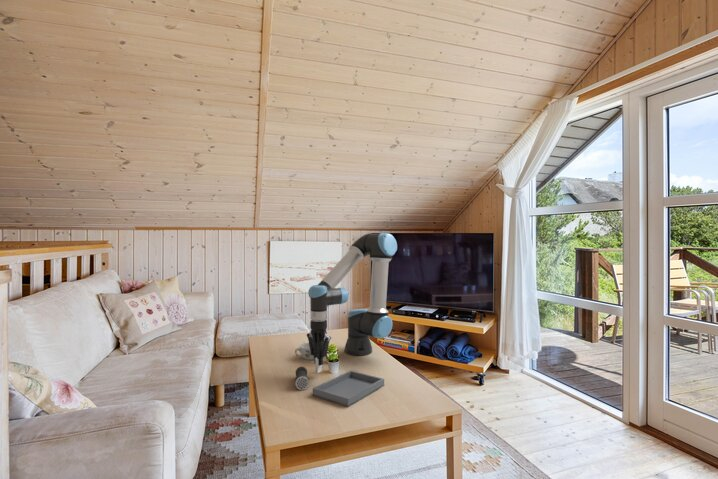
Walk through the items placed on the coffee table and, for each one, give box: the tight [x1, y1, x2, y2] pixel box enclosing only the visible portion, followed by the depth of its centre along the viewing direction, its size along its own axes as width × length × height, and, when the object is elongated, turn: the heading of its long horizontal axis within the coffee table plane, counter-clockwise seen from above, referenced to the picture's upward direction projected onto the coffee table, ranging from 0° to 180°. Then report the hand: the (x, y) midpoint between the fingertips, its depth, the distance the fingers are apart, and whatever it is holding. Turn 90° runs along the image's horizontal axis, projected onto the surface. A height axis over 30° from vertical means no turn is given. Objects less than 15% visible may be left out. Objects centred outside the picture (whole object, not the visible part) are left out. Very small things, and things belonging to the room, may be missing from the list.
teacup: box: [294, 342, 314, 361], centre depth 198 cm, size 15×12×8 cm
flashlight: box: [295, 366, 310, 391], centre depth 166 cm, size 15×5×5 cm
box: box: [312, 370, 385, 408], centre depth 158 cm, size 26×18×3 cm
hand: (318, 371), depth 172 cm, fingers closed
